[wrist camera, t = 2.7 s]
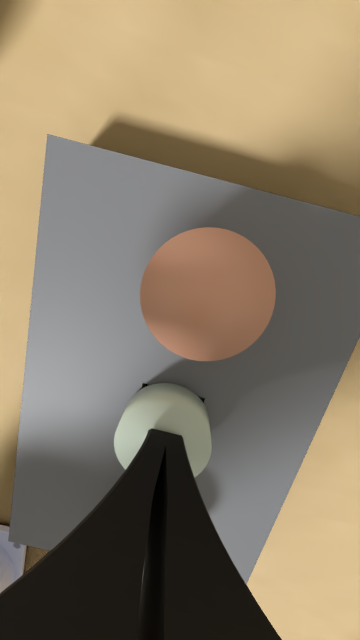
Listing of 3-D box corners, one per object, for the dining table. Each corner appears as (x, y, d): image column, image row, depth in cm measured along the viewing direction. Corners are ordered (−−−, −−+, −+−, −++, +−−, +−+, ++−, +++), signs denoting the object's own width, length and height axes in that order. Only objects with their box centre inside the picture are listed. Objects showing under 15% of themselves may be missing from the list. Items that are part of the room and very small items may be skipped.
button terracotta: (232, 338, 12) (251, 374, 8) (147, 316, 11) (128, 344, 8) (261, 249, 11) (295, 247, 7) (167, 225, 10) (156, 211, 7)
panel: (234, 547, 17) (241, 595, 15) (34, 500, 17) (8, 541, 15) (364, 234, 12) (408, 229, 10) (77, 158, 12) (47, 134, 9)
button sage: (195, 436, 14) (197, 495, 11) (127, 420, 14) (106, 473, 11) (215, 374, 13) (223, 416, 10) (141, 356, 13) (123, 392, 10)
